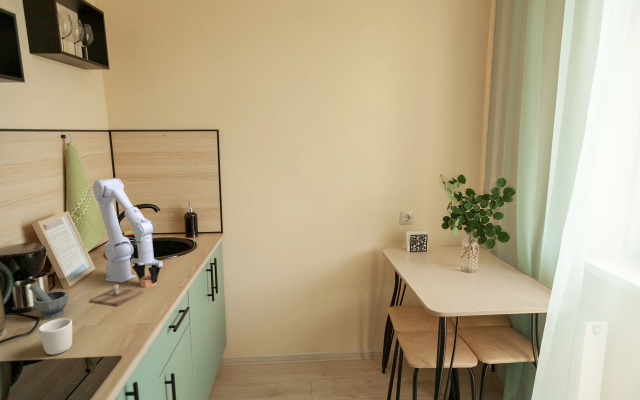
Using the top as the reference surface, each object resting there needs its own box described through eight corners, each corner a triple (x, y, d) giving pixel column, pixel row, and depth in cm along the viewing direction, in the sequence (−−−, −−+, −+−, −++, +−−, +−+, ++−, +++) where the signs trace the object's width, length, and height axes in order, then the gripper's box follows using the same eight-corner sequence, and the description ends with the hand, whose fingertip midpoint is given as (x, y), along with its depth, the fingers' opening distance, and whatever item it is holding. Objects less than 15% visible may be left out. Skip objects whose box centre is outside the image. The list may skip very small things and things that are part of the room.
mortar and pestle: (75, 307, 136) (71, 276, 134) (61, 320, 127) (56, 287, 125) (42, 310, 135) (37, 278, 133) (25, 322, 125) (20, 289, 123)
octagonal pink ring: (137, 286, 155) (137, 279, 154) (148, 281, 160) (147, 274, 160) (149, 288, 153) (148, 281, 153) (159, 282, 159) (158, 276, 158)
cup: (58, 338, 116) (55, 314, 114) (85, 336, 116) (82, 312, 115) (35, 358, 105) (31, 332, 104) (65, 356, 106) (61, 330, 104)
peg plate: (90, 302, 141) (88, 289, 140) (116, 289, 152) (115, 277, 151) (117, 306, 137) (116, 293, 136) (142, 293, 148) (140, 281, 147)
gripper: (123, 251, 153) (127, 283, 155) (152, 254, 148) (155, 287, 151) (137, 246, 159) (140, 276, 162) (165, 249, 155) (167, 280, 157)
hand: (148, 281), depth 157 cm, fingers closed on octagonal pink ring, 6 cm apart
